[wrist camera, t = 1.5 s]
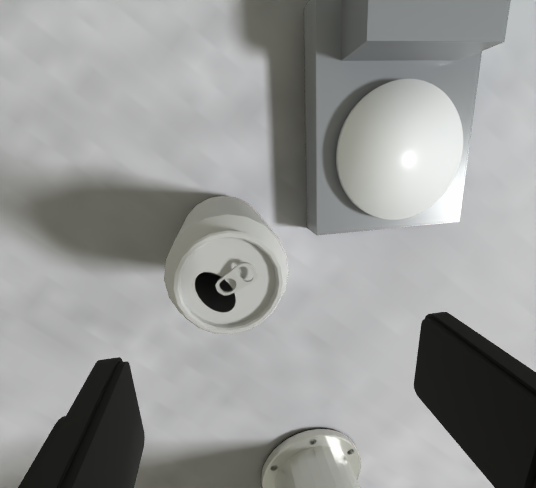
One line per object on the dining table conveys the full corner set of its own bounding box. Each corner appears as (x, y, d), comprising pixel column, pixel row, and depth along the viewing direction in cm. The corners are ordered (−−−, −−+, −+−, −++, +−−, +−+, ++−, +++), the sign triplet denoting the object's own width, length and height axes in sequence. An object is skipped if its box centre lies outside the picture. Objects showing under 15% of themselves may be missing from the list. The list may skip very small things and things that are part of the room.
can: (164, 228, 27) (127, 278, 15) (231, 177, 27) (243, 190, 15) (217, 287, 29) (218, 369, 18) (278, 241, 29) (320, 293, 17)
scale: (436, 216, 31) (497, 231, 24) (307, 227, 29) (334, 248, 22) (459, 12, 26) (542, -38, 19) (303, 9, 24) (337, -49, 17)
